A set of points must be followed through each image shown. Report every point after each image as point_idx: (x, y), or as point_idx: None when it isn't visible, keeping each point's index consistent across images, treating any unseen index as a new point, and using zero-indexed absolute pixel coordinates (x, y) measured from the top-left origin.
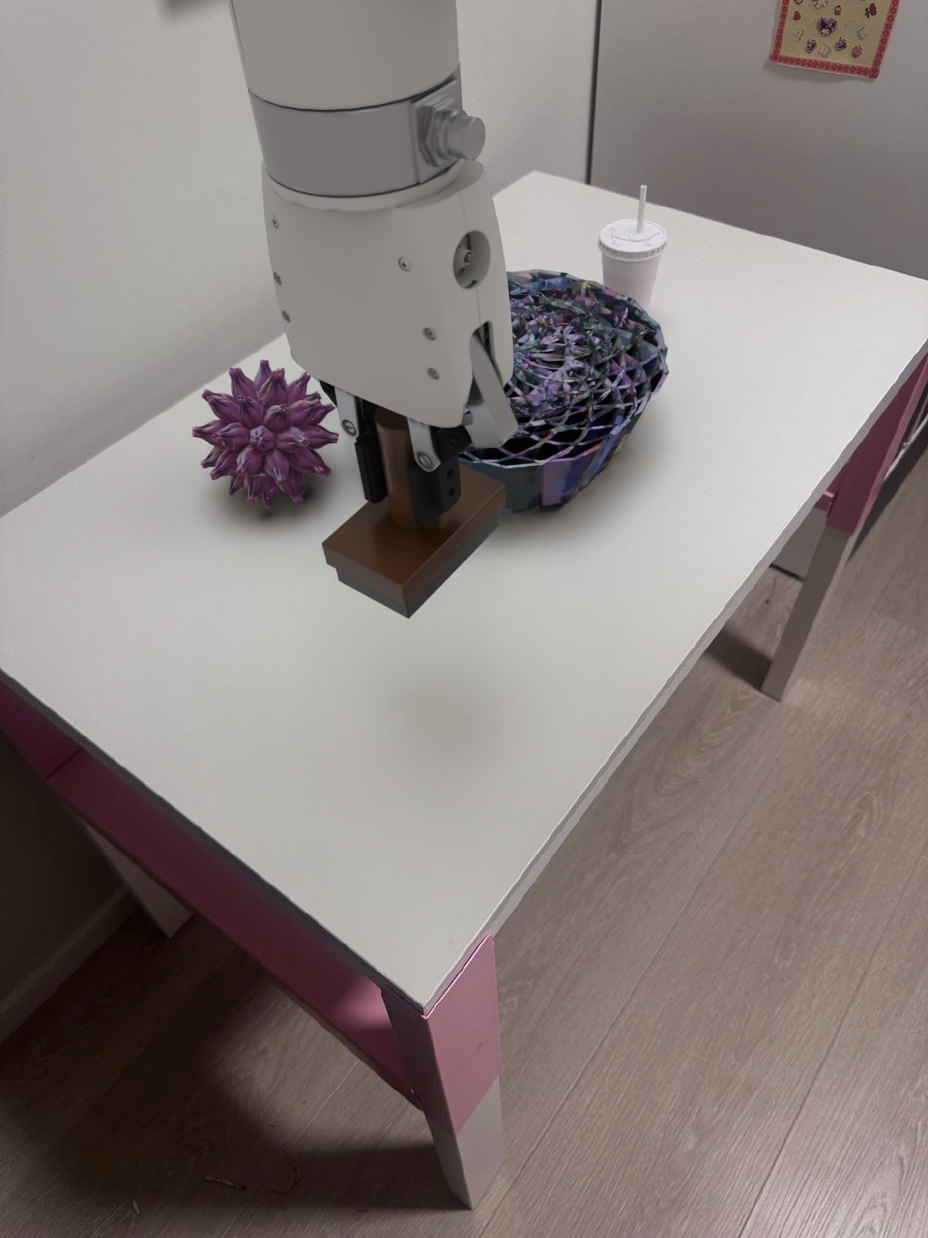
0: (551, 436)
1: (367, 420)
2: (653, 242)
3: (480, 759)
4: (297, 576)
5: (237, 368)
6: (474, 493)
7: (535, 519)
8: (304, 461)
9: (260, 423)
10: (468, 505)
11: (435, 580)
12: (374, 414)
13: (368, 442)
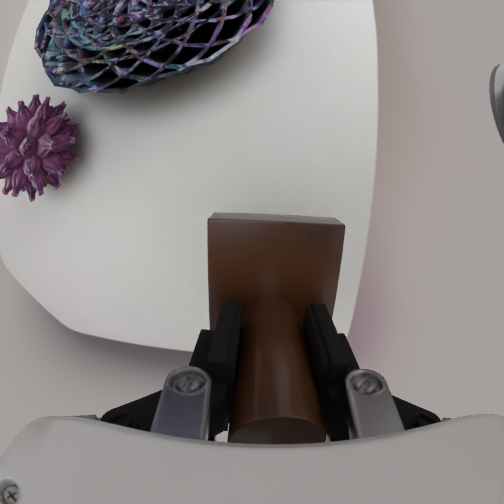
0: (225, 12)
1: (215, 433)
2: None
3: None
4: (115, 199)
5: None
6: (319, 260)
7: (226, 56)
8: (61, 145)
9: (23, 159)
10: (323, 282)
11: None
12: (213, 422)
13: (227, 420)
